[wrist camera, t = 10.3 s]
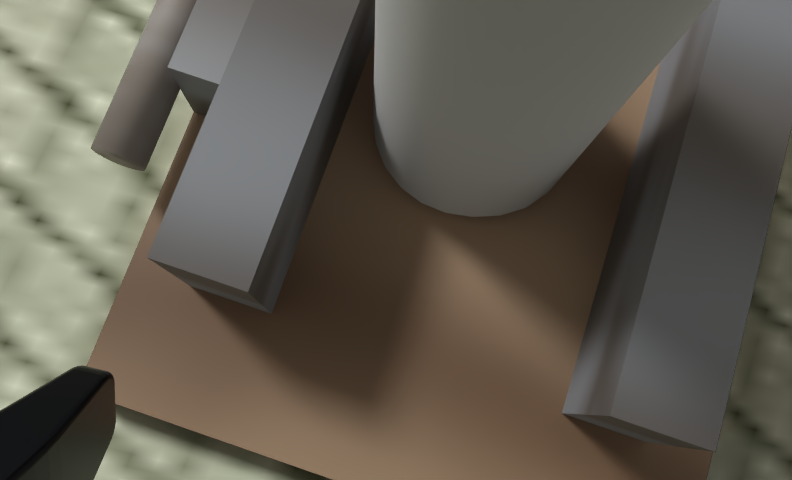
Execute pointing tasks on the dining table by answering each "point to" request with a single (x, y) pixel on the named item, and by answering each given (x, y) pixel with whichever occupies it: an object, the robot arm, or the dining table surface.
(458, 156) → the beverage can
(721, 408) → the vise
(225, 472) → the dining table surface
